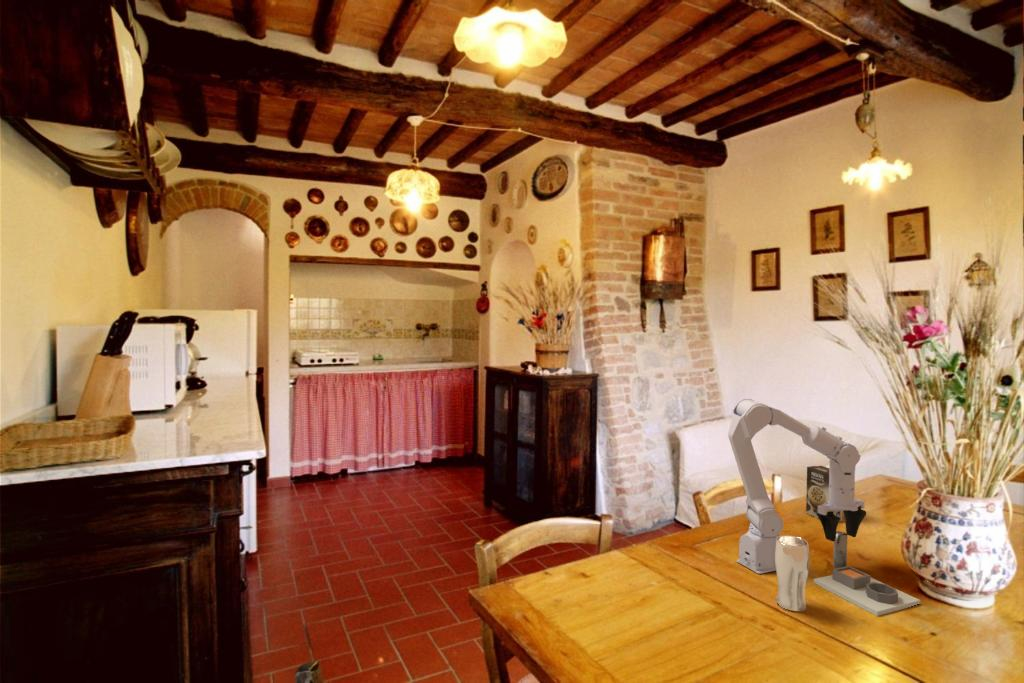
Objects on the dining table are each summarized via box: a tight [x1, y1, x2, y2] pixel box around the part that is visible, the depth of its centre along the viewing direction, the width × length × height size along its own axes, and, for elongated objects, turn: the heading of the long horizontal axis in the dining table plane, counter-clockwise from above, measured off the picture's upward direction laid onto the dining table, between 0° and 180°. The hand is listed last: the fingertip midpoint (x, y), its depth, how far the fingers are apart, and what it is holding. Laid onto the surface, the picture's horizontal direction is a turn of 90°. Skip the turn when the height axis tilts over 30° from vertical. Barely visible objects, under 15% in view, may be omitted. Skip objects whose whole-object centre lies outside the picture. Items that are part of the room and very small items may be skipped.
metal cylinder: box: [832, 530, 848, 569], centre depth 141 cm, size 3×3×9 cm
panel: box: [813, 565, 921, 617], centre depth 128 cm, size 14×16×4 cm
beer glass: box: [775, 534, 810, 612], centre depth 122 cm, size 7×7×15 cm
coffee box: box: [805, 465, 844, 522], centre depth 177 cm, size 9×6×16 cm
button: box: [840, 569, 863, 578], centre depth 131 cm, size 4×4×1 cm
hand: (840, 537), depth 141 cm, fingers open, 7 cm apart
